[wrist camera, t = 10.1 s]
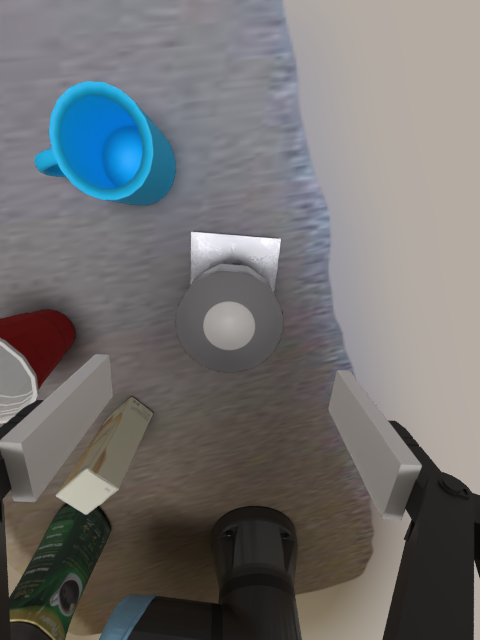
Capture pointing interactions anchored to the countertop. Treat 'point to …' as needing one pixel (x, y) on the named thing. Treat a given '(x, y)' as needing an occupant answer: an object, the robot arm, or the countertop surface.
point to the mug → (107, 146)
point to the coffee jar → (57, 575)
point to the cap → (229, 319)
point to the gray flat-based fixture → (235, 253)
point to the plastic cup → (29, 356)
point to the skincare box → (106, 458)
